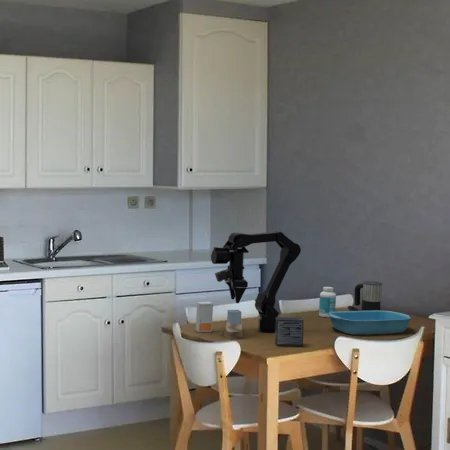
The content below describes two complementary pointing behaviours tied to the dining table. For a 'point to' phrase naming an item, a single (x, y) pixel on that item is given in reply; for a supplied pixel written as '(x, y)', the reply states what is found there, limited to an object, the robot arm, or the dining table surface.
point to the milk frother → (368, 296)
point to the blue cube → (234, 317)
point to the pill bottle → (327, 302)
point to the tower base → (233, 335)
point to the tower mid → (233, 327)
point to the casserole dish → (369, 322)
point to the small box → (289, 331)
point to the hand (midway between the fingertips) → (235, 301)
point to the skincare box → (204, 317)
